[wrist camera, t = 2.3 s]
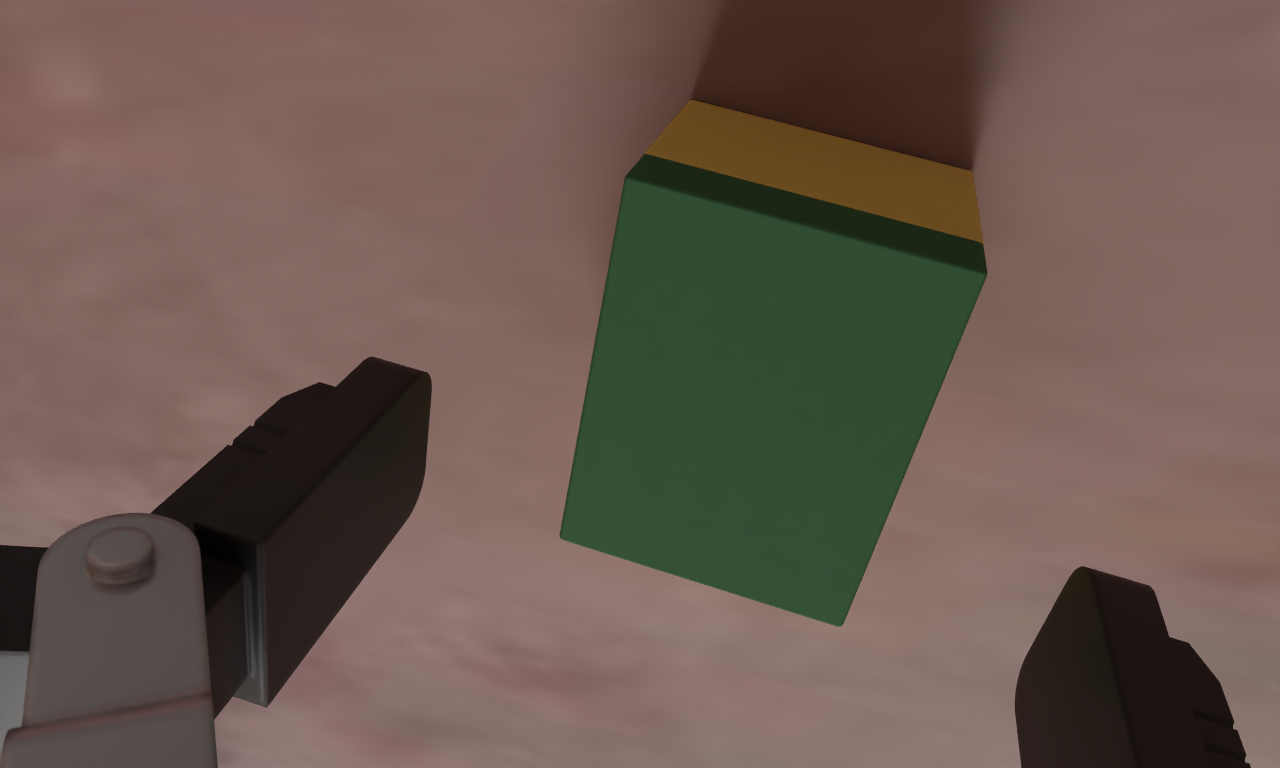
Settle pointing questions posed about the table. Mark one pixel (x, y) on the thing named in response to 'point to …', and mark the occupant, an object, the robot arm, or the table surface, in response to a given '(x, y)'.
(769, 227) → the sponge
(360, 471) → the robot arm
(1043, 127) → the table surface
